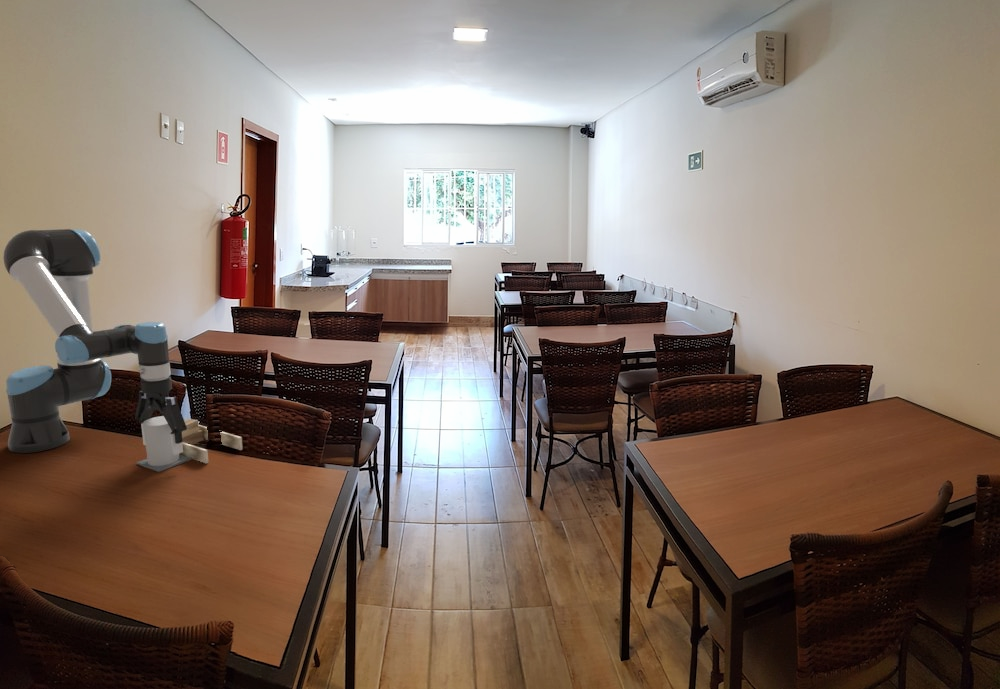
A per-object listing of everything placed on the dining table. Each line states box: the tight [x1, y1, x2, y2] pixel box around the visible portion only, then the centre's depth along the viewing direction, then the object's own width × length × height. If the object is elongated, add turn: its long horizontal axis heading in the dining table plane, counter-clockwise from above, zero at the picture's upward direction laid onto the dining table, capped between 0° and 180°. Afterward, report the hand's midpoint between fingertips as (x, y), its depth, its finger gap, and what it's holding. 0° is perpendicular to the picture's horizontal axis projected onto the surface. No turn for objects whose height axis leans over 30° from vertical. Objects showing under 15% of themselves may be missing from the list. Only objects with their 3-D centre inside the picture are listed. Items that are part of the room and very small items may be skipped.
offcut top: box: [182, 418, 199, 438], centre depth 192 cm, size 4×7×4 cm, turn 163°
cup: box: [143, 415, 179, 466], centre depth 178 cm, size 8×8×12 cm
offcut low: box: [182, 430, 204, 445], centre depth 193 cm, size 4×9×4 cm, turn 150°
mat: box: [136, 454, 192, 473], centre depth 179 cm, size 10×10×1 cm
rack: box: [179, 423, 243, 464], centre depth 189 cm, size 22×13×4 cm, turn 62°
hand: (163, 448), depth 179 cm, fingers open, 13 cm apart
